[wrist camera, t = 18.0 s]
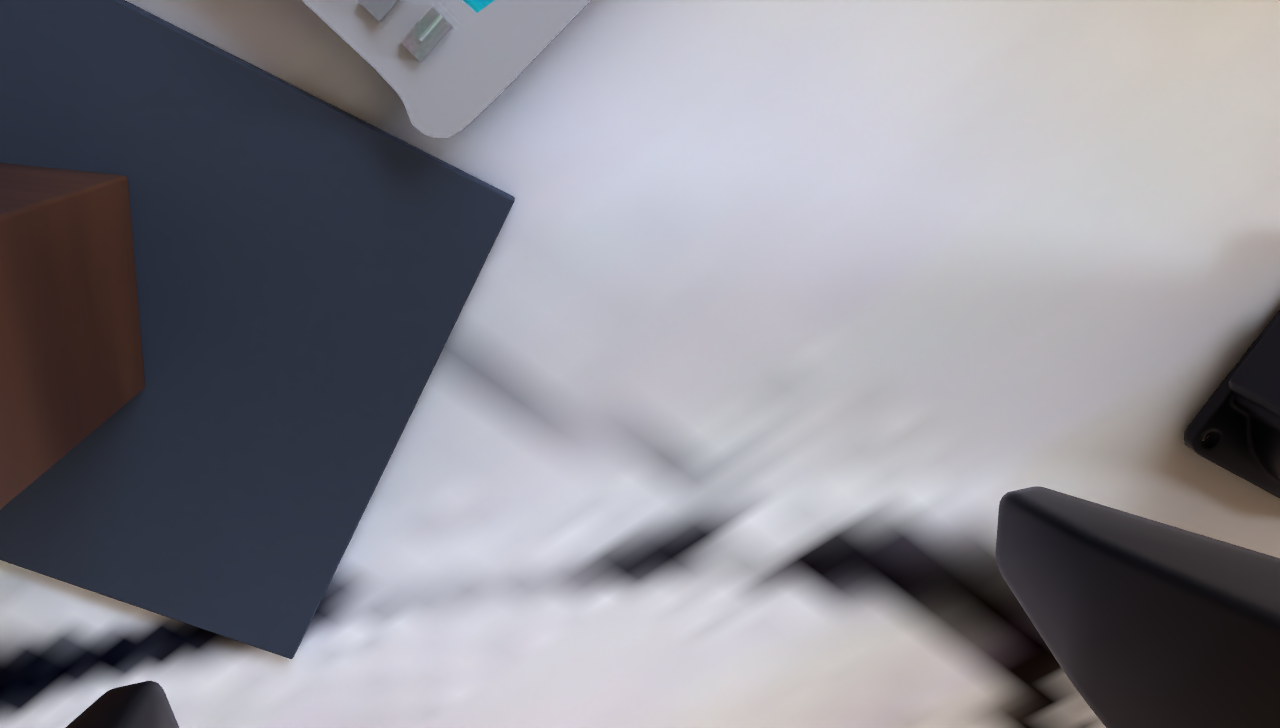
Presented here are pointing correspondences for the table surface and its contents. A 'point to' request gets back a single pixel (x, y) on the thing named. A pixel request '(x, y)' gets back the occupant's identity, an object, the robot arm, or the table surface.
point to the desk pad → (234, 316)
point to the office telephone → (447, 49)
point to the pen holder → (63, 314)
